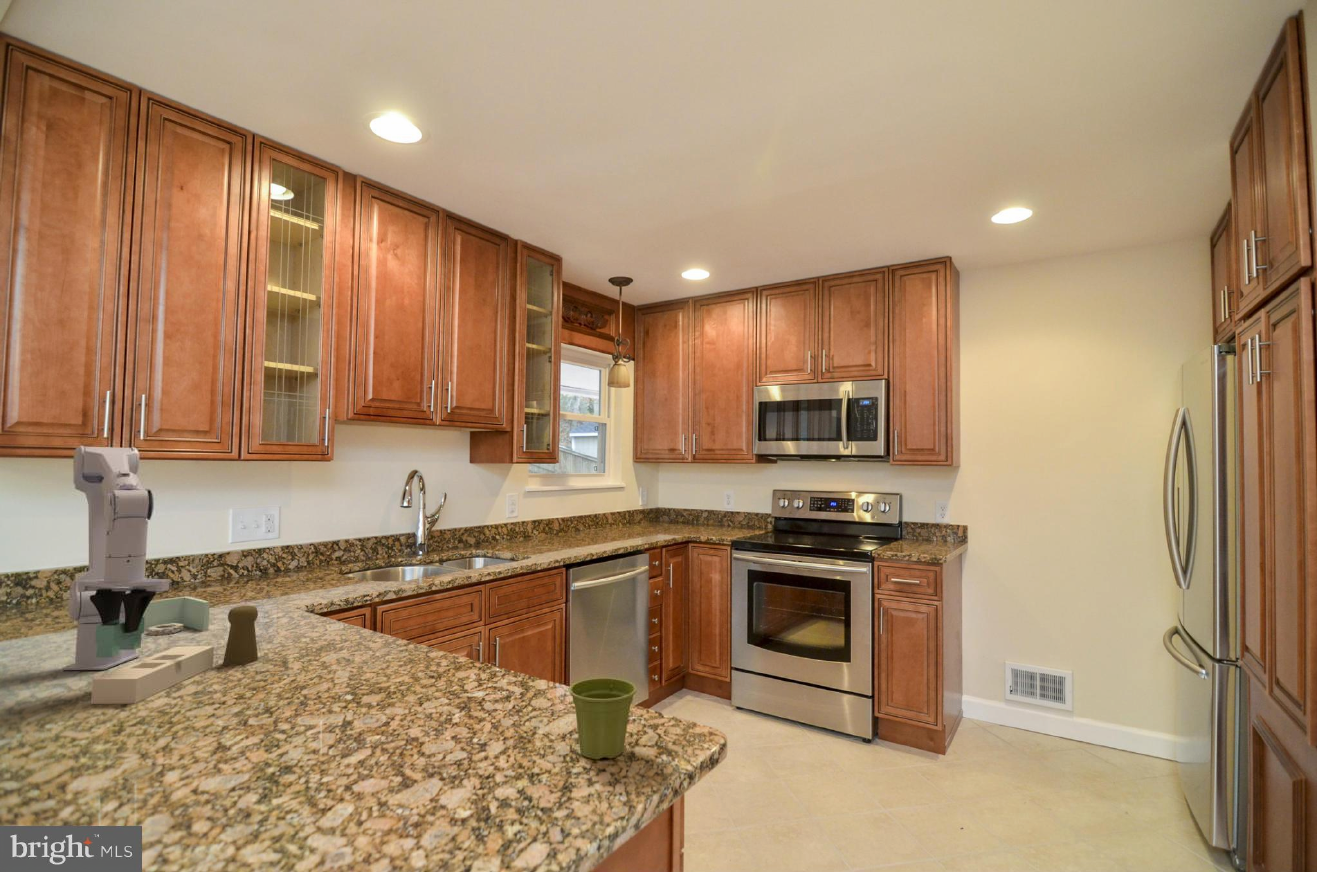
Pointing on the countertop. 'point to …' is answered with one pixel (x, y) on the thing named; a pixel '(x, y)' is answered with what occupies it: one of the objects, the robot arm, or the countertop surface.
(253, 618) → the cork
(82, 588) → the robot arm
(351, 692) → the countertop surface
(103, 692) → the rail
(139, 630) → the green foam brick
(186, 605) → the right angle wall
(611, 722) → the plant pot
